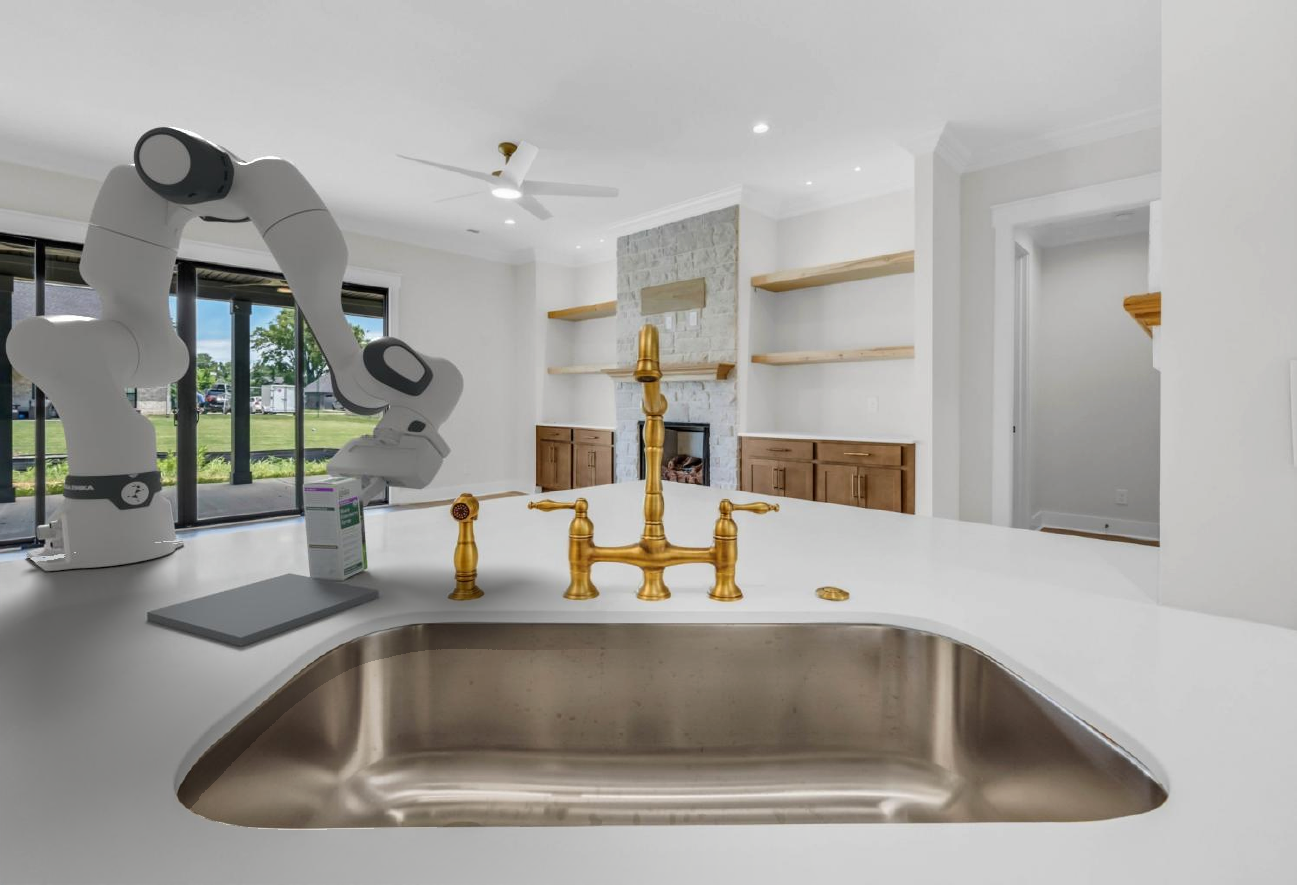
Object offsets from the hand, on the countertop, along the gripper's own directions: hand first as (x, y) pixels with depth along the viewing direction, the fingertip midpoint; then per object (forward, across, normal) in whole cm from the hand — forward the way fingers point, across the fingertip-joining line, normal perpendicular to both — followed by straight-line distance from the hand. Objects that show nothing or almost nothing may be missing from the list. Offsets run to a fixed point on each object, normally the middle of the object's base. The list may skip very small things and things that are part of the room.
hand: (355, 503), depth 95 cm
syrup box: (+10, 0, +5) cm, 11 cm away
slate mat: (+20, +5, -5) cm, 21 cm away
